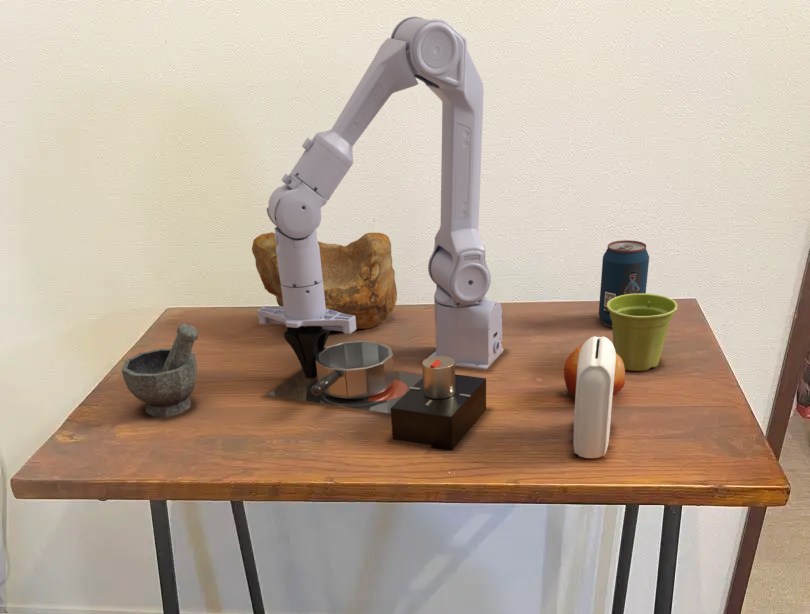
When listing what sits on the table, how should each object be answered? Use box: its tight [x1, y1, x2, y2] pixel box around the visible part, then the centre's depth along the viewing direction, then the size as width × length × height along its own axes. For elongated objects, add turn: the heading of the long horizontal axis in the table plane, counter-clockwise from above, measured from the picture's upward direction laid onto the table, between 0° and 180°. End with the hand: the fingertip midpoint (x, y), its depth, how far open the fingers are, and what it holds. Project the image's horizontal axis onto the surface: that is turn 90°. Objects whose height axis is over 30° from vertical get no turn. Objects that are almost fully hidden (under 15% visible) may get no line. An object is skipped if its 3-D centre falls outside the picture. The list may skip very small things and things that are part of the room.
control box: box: [390, 373, 487, 451], centre depth 110 cm, size 12×8×5 cm
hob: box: [267, 368, 423, 415], centre depth 123 cm, size 21×13×1 cm, turn 65°
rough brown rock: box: [251, 231, 398, 330], centre depth 140 cm, size 23×17×15 cm
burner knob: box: [421, 356, 456, 399], centre depth 108 cm, size 4×4×4 cm
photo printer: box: [572, 335, 616, 459], centre depth 103 cm, size 10×4×12 cm, turn 167°
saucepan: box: [311, 340, 395, 400], centre depth 119 cm, size 16×10×5 cm, turn 155°
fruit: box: [562, 344, 626, 398], centre depth 115 cm, size 8×8×8 cm
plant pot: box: [607, 293, 678, 372], centre depth 122 cm, size 9×9×9 cm
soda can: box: [598, 239, 650, 328], centre depth 136 cm, size 7×7×12 cm
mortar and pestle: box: [121, 323, 199, 418], centre depth 117 cm, size 11×9×12 cm
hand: (312, 375), depth 125 cm, fingers closed
